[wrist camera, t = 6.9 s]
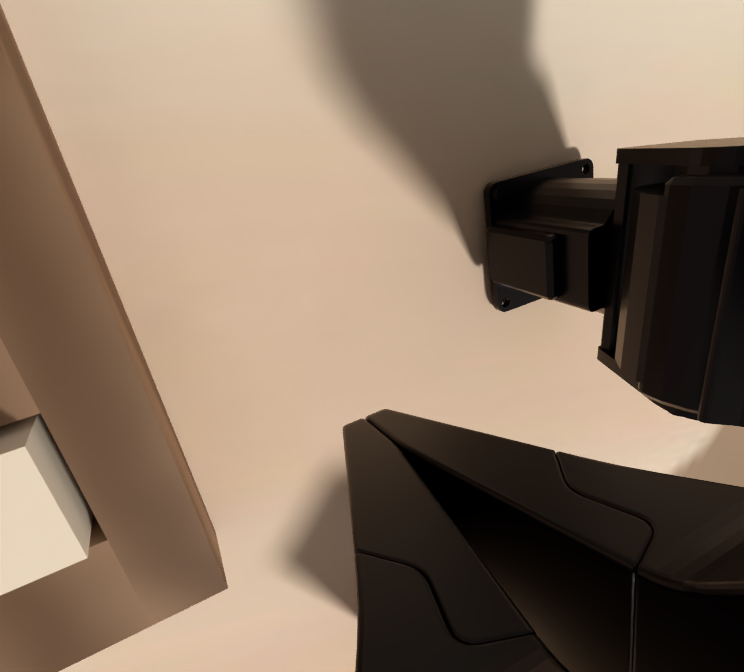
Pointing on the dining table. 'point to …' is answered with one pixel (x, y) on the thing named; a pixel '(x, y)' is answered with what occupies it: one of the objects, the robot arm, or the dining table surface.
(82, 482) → the key panel
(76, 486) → the white square block
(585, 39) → the dining table surface
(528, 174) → the robot arm
